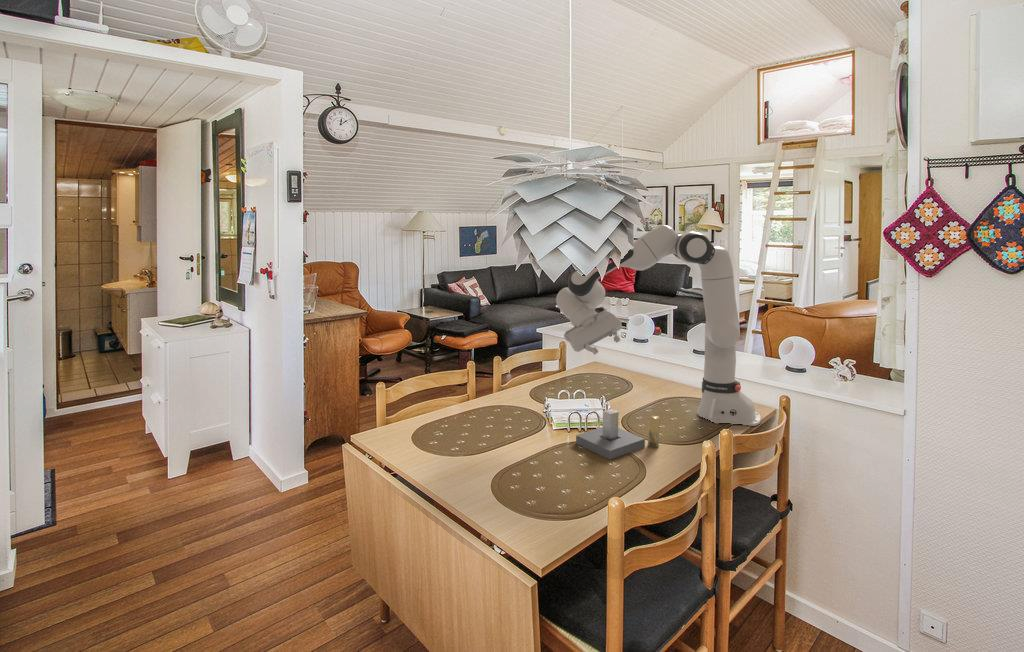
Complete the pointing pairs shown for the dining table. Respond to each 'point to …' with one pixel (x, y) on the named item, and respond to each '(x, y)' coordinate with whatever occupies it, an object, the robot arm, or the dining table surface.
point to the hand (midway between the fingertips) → (607, 346)
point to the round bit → (653, 431)
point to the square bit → (610, 424)
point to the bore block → (610, 443)
